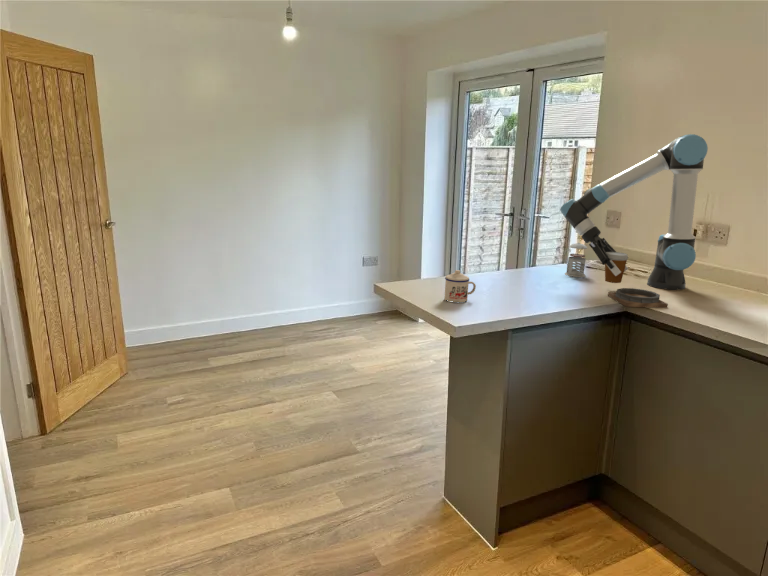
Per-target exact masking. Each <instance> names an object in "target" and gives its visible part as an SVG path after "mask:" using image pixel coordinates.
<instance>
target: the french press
mask: <svg viewBox="0 0 768 576" xmlns="http://www.w3.org/2000/svg"><path fill="white" fill-rule="evenodd" d="M580 238H581V236H580V235H579V239H578V240H580ZM569 248H572V249H577V250H586V249H588V246H587V245H585V244H583V243H580V242H577V243H572V244H570V245H569ZM569 248H567V249H566V250H565V251H563V254H562V256H563V257H565V256H566V253H567V252H569V253H570V254H569V257H568V259H567V262H566V261H565V259H562V261H563V263H565V264H566V272H565V273H564V275H566V276H567V275H568V277H572V276H573V277H574V278H585V277H586V274H585V269H586V268H585V267H586V259H587V258H586V255H585V254H580V253H579V251H577V253H571V251H572V250H571V249H569Z"/></svg>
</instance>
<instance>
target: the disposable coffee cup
mask: <svg viewBox="0 0 768 576" xmlns="http://www.w3.org/2000/svg"><path fill="white" fill-rule="evenodd" d="M606 254H607V255H608V257H609V259H610V260H612V261H613V262H614V264H615V265H616V266H617V267H618V269H619V270H620V271H621V273H620V274H618V275H617V276H615V275H614V274H613V273H612V271H611V270H610V269H609V268H608V266H607V265H606V264H604V281H605V282H607V283H611V284H620V283H622V280H623V277H624V273H625V272H624V269H625V265H626V266H627V262H628V259H629V255H628V254H627V253H625V252H619V251H618V252H617V251H616V252H606Z"/></svg>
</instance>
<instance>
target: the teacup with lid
mask: <svg viewBox="0 0 768 576" xmlns="http://www.w3.org/2000/svg"><path fill="white" fill-rule="evenodd" d="M444 279H445V285H444V286H445V287H444V300H445V301H446V300H448V301H453V302H465V301H467V302H468V297H469V296H468V295H472V294H474V292H476V288H477V287H476V286H477V285H476V283H475V282H473V281H470V277H469V276H467V275H465V274H464V273H461V270H460V269H456V270H455V271H454V272H452V273H450V274H447V275H445V278H444ZM469 284H472V286H473V287H472V289H471V291H469ZM465 303H466V302H465Z"/></svg>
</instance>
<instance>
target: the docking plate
mask: <svg viewBox="0 0 768 576" xmlns="http://www.w3.org/2000/svg"><path fill="white" fill-rule="evenodd" d="M607 296H608V297H609V298H611V299H613V300H614V301H615V302H617V301H618V302H617V303H619V304H621V305H623V306H624V307H626V308H627V307H629V308H631V307H632V308H634V307H635V308H665V309H666V308H667V309H668V305H669V304H668V303H667V302H665V301H663V300H661V299H660V298H661V297H660V296H661V295H660V294H659V293H657V292H655V291H652V290H647V289H642V288H641V289H640V288H636V287H634V288H633V287H632V288H631V287H622V288H621V287H620V288H617V289H616V290H615V292H608V294H607Z"/></svg>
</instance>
